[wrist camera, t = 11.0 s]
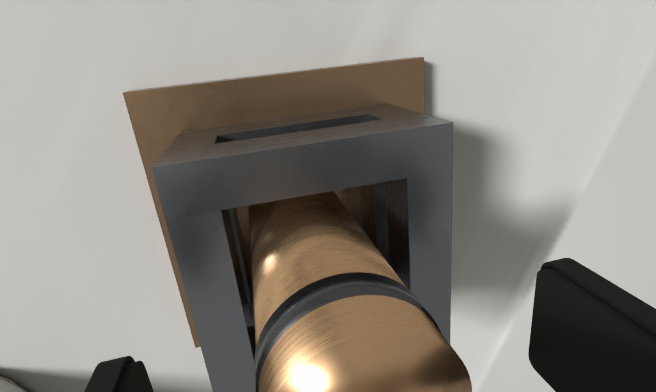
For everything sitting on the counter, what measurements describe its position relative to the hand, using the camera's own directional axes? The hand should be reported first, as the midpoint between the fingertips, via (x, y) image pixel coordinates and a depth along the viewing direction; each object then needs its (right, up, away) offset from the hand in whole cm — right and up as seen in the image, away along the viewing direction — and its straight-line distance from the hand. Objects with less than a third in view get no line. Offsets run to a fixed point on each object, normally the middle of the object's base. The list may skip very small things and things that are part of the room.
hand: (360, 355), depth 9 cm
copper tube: (-2, +3, +8) cm, 9 cm away
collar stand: (-2, +3, +9) cm, 10 cm away
